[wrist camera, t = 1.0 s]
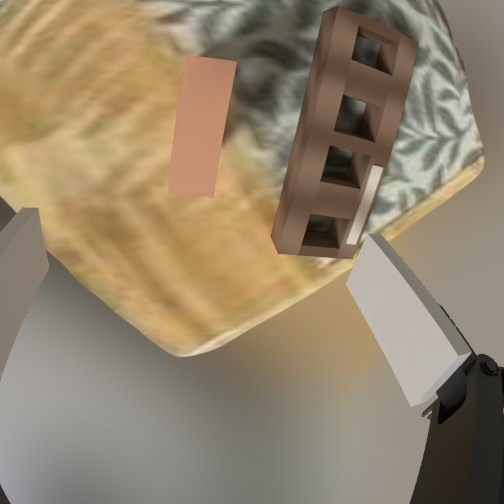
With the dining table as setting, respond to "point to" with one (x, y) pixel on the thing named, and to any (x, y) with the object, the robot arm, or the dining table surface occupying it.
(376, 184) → the brown compartment rack
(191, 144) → the pink u-shaped block
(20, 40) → the dining table surface
